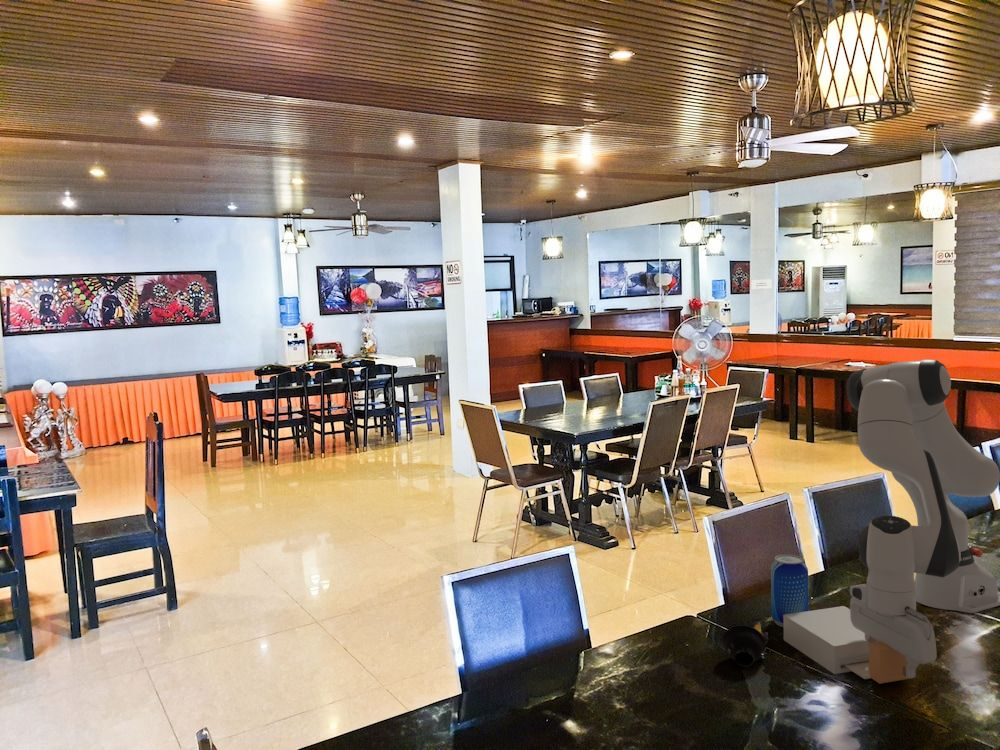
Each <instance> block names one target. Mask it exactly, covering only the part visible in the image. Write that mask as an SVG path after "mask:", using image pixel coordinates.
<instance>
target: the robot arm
mask: <svg viewBox="0 0 1000 750" xmlns="http://www.w3.org/2000/svg"><path fill="white" fill-rule="evenodd" d="M845 387H846V389H845V390H846V396H847V400H848V402H849V404H850V406H851V407H852V408H853V409H855V411H857V439H858V447H859V449H860V452H861V454H862V455H863V457H864V458H866V459H867V461H869V462H870V463H872V464H873V465H874V466H877V467H878V468H880V469H881V470H882V469H883V470H884V471H888V472H890V473H891V475H892V477H893V478H894V480H895V481H896V482H897V483H899V484H900V485H901V486H902V488H904V490H905V492H906V493H907V494H908V496H909V498H910V500H911V501H912V504H913V506H914V509H915V512H916V518H917V522H916V523H917V525H912V524H911V522H910V521H909V520H907V519H905V518H904V517H900V516H895V515H879V516H876V517H873V518H872V519H871V520H870V521H869V524H868V525H866V526H865V527H864V528H863V529H862V530H861V531H859V532H858V541H859V555H858V560H859V561H860V562H861V563H862V564H863V565H864V566H865V567H866V568H867V569H868V575H867V578H866V583H862V584H861V583H860V584H856V585H850V587H849V594H850V596H851V598H850V600H849V609H850V619H851V622H852V625H853V627H854V628H856V629H858V630H860V631H862V632H863V633H865V639H866V642H867V644H868V647H869V643H875V642H877V640H878V641H879V642H881V643H883V644H885V645H887V646H888V647H890V648H892V649H894V650H895V651H897V652H899V653H901V654H903V655H904V656H906V661H907V662H908V664H907V666H904V667H902V670H903V672H902V674H903V675H904V676H906V677H908V678H910V679H913V678H916V674H917V673H916V671H917V668H918V667H919V665H925V664H926V665H927V664H931V663H934V662H935V661H936V660H937V658H938V655H937V653H938V652H937V643H936V641H937V640H936V636H935V630H934V628H933V624H932V623H931V622H930V620H929V619H928V617H927V615H925V614H924V613H922V612H919V611H917V603H918V604H921V605H924V606H927V607H929V608H930V607H931V608H935V609H938V610H939V609H940V610H945V611H948V610H949V611H956V612H961V613H962V612H963V613H968V614H975V613H978V612H982V611H984V610H985V611H986V610H989V609H993V608H995V607H998V606H1000V591H999V589H998V588H999V587H998V582H997V579H996V577H995V576H994V575H993V574H992V573H990V571H988V570H987V569H986V568H984V567H983V566H981V564H979V563H977V562H976V561H975V558H974V556H976V557H977V558H982V556H983V555H984V551H983V550H982V549H981V548H977V547H972V548H971V547H969V520H968V517H967V516H966V514H965V513H964V512H963V511H962V510H961V509H960V508H958V507H957V506H956V505H954V503H953V502H952V501H951V499H950V498H949V495H954V496H960V497H965V498H981V497H983V498H984V497H985V498H986V497H989V496H990V495H992V494H993V493H994V492H995V491H996V490H997V488H998V486H999V484H1000V470H999V469H1000V468H999V466H998V465H997V463H996V462H995V461H994V460H993V459H992V458H990V457H988V455H987V456H986V455H985V454H984V453H982V452H980V451H978V450H977V449H976V448H975V447H973V446H972V445H971V444H970V443H969V442H968V441H967V440H966V439H965V438H964V437H963V436H962V435H961V434H960V433H959V432H958V430H957V429H956V427H955V426H954V424H953V422H952V419H951V417H950V415H949V411H948V409H947V407H946V404H945V401H946V400H947V399H948V397H949V396H950V394H951V387H952V380H951V375H950V373H949V371H948V369H947V367H946V366H945V364H944V363H942V362H940V360H939V361H938V359H937V360H936V359H930V358H929V359H928V358H927V359H921V360H909V361H898V362H892V363H890V364H884V365H878V366H874V367H870V368H861V369H859V370H856V371H854V372H852V373H850V376H849V377H848V378H847V380H846V385H845Z"/></svg>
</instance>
